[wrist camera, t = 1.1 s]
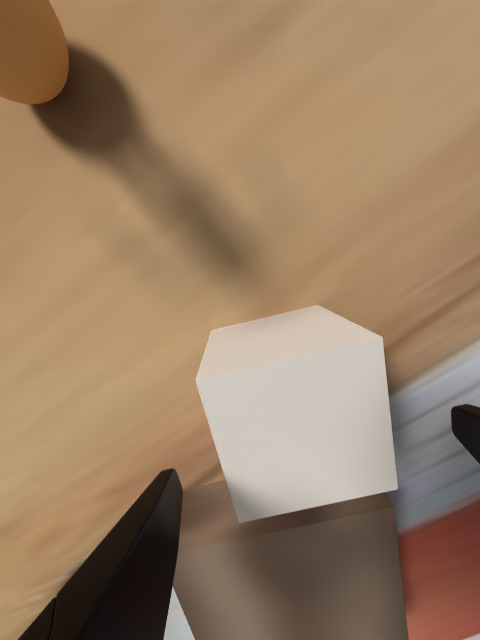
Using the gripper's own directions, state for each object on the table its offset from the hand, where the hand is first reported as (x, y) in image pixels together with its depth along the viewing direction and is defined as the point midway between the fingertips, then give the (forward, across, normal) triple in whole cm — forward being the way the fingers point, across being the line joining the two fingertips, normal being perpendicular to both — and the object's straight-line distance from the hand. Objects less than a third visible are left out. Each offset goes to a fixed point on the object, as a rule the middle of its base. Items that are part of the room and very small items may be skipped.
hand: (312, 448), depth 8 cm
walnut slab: (+7, +2, +13) cm, 15 cm away
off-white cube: (+7, 0, 0) cm, 7 cm away
